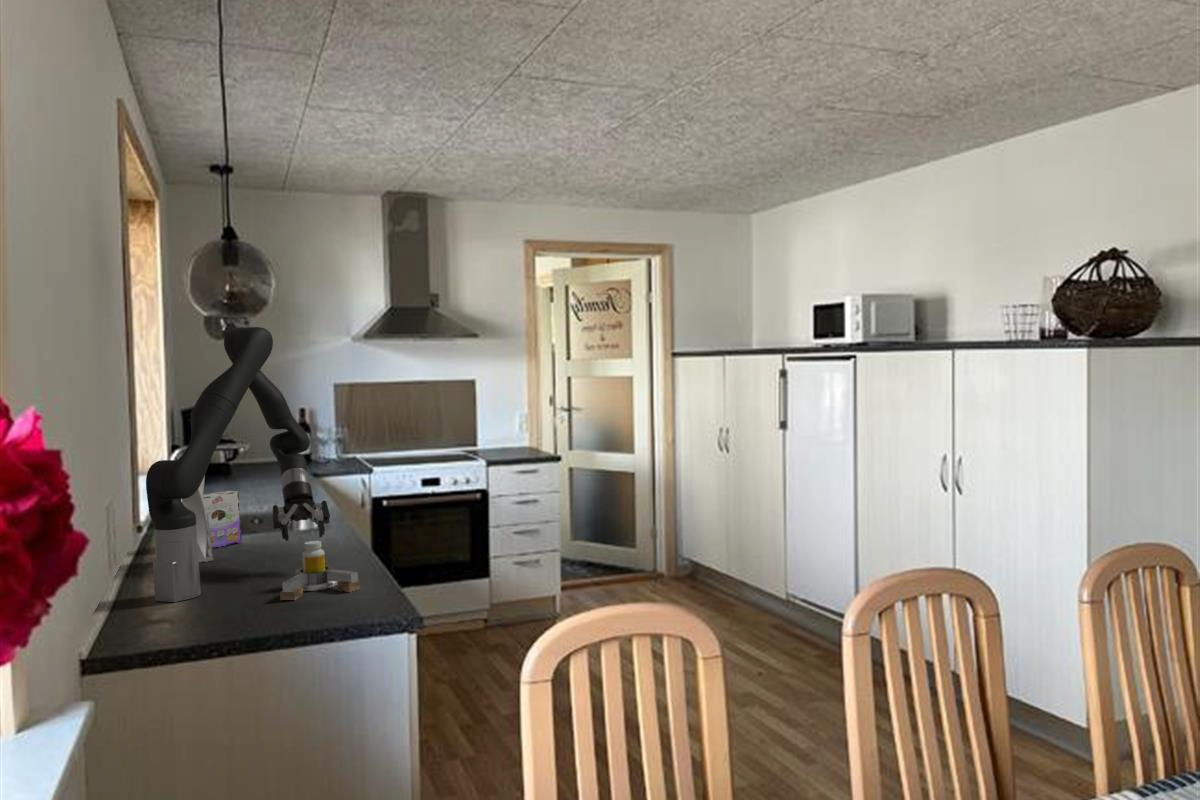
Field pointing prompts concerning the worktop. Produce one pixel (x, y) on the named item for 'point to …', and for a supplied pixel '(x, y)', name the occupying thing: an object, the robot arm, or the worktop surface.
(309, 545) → the supplement bottle
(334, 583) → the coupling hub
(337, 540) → the worktop surface
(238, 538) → the candy box
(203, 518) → the skyscraper
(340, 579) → the angled shafts
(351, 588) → the blocks
